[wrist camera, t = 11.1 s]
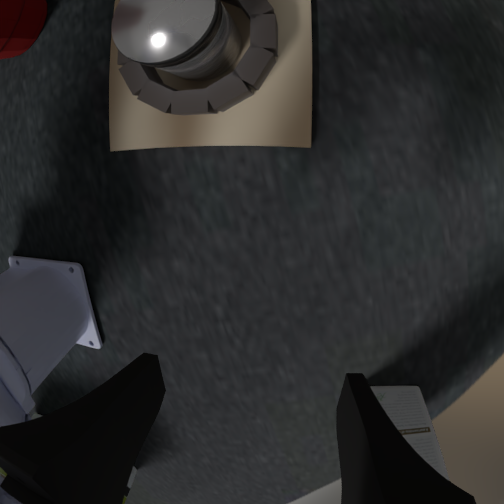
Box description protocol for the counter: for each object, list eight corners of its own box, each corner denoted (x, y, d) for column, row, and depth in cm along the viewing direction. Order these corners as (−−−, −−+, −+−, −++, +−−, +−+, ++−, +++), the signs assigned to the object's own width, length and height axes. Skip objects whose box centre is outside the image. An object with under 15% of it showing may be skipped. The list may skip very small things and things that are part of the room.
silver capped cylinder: (165, 86, 16) (108, 73, 10) (165, 18, 14) (114, -16, 9) (243, 78, 15) (216, 54, 10) (242, 7, 13) (216, -41, 8)
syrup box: (356, 384, 22) (371, 558, 9) (421, 383, 22) (463, 537, 8) (340, 426, 25) (343, 572, 11) (400, 424, 24) (421, 560, 10)
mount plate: (115, 150, 18) (92, 155, 16) (121, -15, 14) (101, -27, 11) (310, 147, 17) (312, 149, 14) (308, -38, 12) (309, -58, 10)
